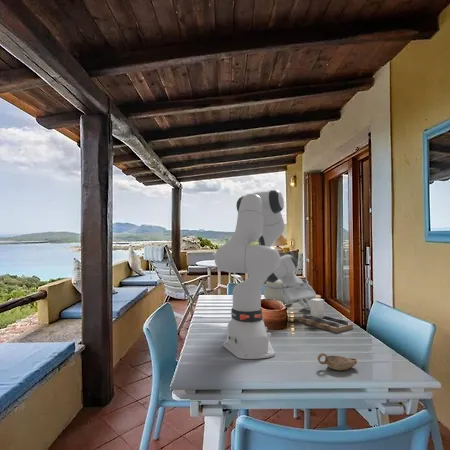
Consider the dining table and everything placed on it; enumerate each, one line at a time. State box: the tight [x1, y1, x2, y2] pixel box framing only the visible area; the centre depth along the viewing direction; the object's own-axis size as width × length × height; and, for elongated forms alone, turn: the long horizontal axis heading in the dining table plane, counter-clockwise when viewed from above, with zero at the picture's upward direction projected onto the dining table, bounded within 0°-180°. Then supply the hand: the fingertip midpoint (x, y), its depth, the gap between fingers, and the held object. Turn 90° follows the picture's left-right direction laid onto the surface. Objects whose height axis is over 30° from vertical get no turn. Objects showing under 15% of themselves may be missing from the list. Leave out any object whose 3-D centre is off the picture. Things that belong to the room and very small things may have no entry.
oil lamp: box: [317, 352, 358, 371], centre depth 114 cm, size 13×8×5 cm, turn 91°
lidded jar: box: [305, 294, 322, 312], centre depth 196 cm, size 11×11×9 cm
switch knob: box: [310, 298, 325, 319], centre depth 168 cm, size 4×5×9 cm
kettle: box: [263, 279, 290, 306], centre depth 213 cm, size 25×18×25 cm
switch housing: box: [298, 313, 354, 334], centre depth 164 cm, size 22×12×4 cm, turn 36°
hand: (307, 307), depth 173 cm, fingers closed
